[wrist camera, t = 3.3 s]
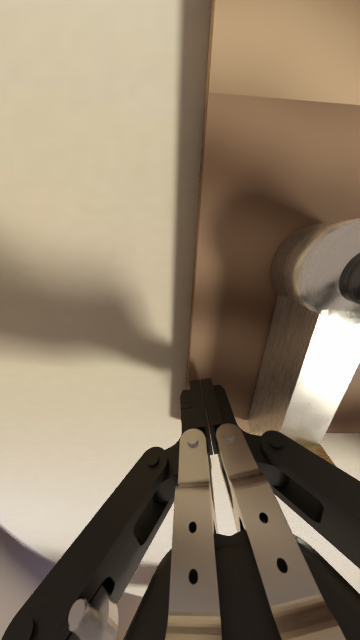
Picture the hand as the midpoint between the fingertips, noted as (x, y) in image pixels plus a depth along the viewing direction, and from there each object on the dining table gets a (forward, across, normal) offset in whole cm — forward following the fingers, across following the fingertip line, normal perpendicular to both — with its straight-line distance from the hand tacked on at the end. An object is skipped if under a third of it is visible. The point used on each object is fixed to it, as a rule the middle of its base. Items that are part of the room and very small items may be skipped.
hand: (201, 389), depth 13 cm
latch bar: (+1, -6, -2) cm, 7 cm away
